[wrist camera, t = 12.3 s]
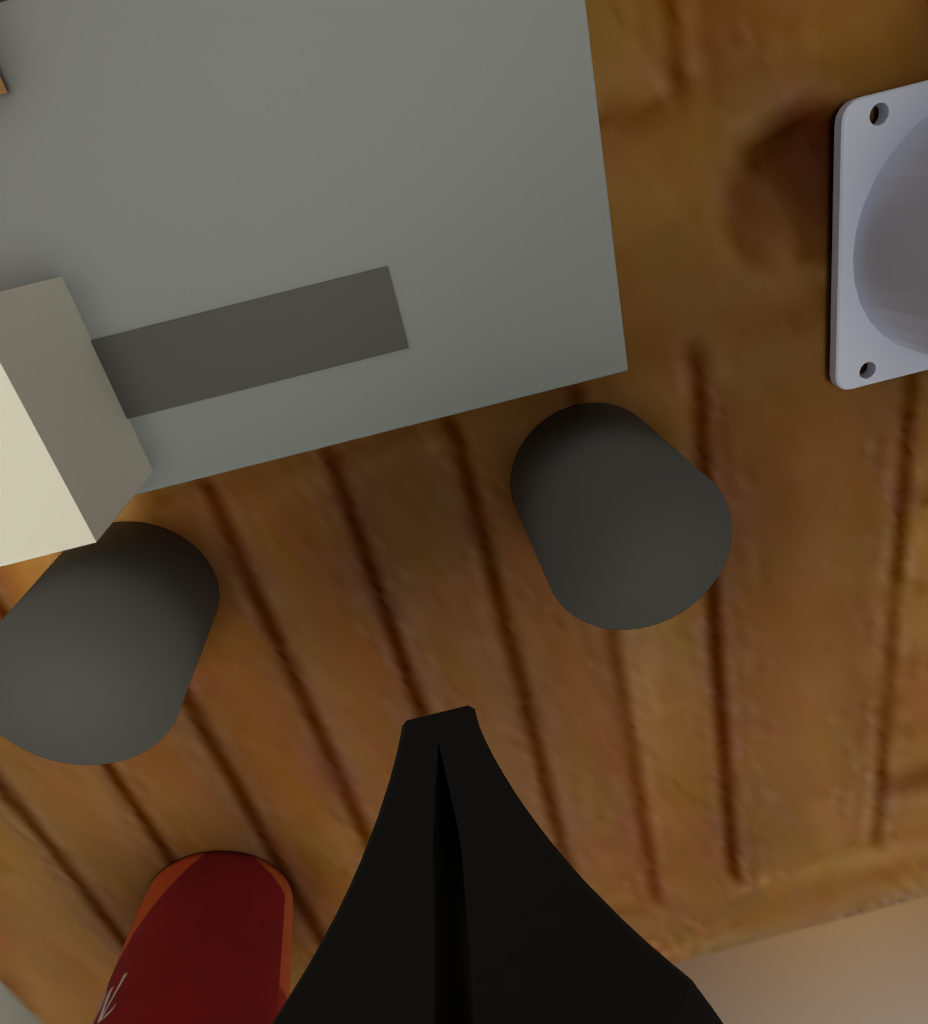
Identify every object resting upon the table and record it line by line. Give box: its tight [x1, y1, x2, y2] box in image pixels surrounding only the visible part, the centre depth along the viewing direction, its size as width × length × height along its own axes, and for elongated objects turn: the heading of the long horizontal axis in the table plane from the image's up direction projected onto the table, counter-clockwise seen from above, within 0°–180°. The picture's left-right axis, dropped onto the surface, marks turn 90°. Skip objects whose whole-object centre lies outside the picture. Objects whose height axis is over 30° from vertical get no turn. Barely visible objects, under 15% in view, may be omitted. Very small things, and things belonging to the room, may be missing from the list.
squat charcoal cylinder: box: [0, 522, 219, 765], centre depth 20 cm, size 5×5×5 cm
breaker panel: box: [0, 0, 628, 567], centre depth 14 cm, size 18×16×6 cm
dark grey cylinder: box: [511, 403, 732, 630], centre depth 20 cm, size 5×5×5 cm
